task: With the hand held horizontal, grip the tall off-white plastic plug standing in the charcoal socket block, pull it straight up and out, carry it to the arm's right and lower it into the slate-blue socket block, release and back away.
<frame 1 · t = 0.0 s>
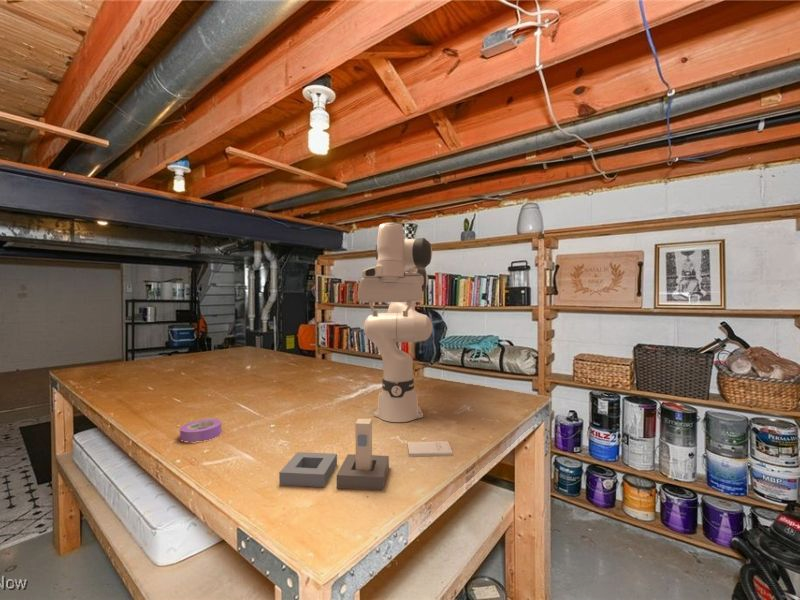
hand: (390, 316, 108), 39 cm above the table, tool pointing down, fingers open, 8 cm apart
masking tape: (201, 437, 114), on the table
socket a: (364, 476, 87), on the table
plug: (363, 449, 87), in the socket a
socket b: (309, 474, 89), on the table
external hard drive: (429, 452, 103), on the table
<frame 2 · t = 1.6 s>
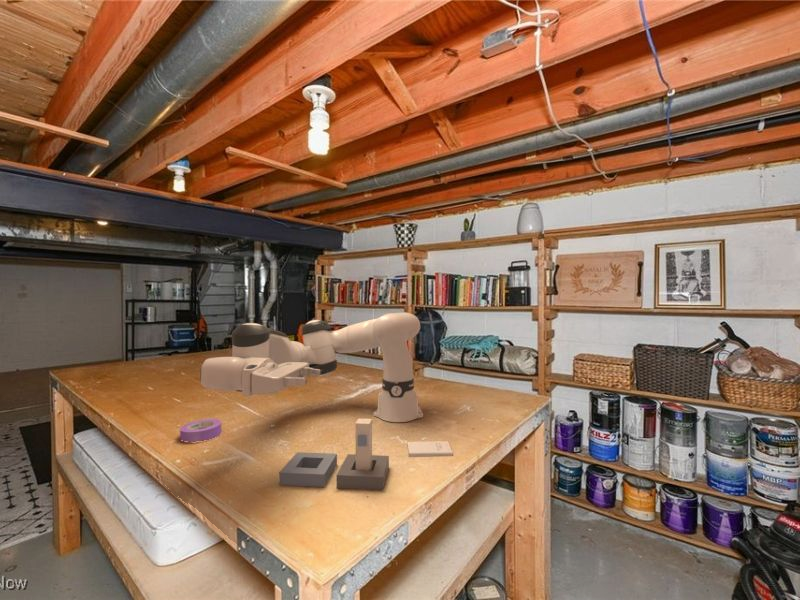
hand: (312, 377, 89), 25 cm above the table, tool horizontal, fingers open, 8 cm apart
nothing on the table moved.
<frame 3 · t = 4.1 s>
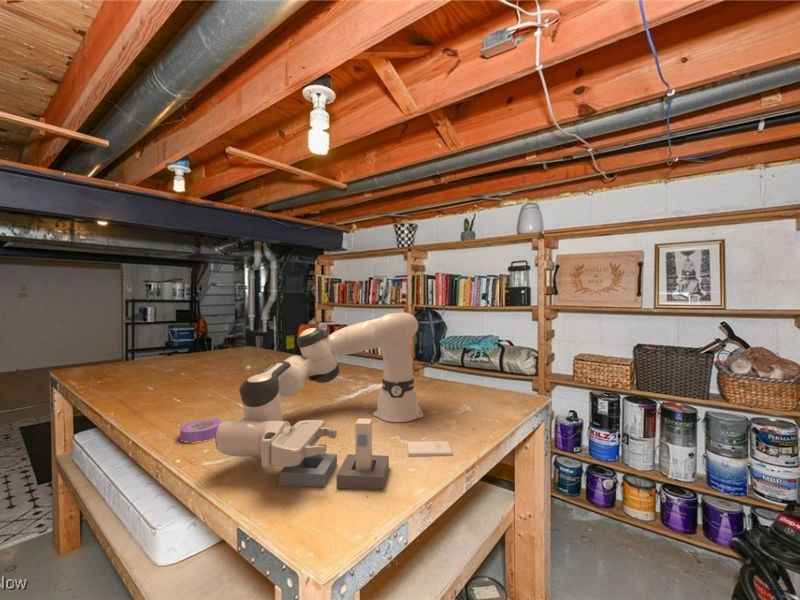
hand: (331, 441, 88), 9 cm above the table, tool horizontal, fingers open, 8 cm apart
nothing on the table moved.
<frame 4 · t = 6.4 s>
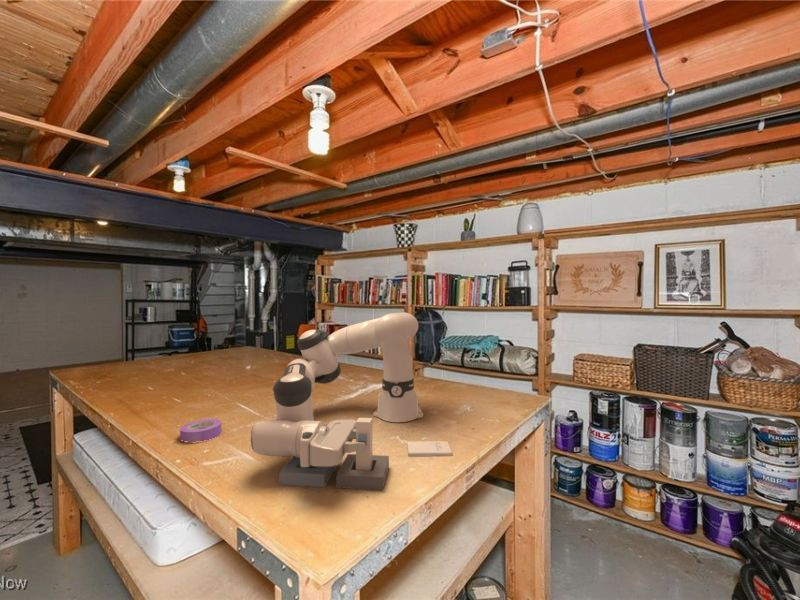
hand: (367, 440, 87), 9 cm above the table, tool horizontal, fingers closed on plug, 4 cm apart
plug: (363, 448, 87), in the socket a, touching gripper
everything else where it was.
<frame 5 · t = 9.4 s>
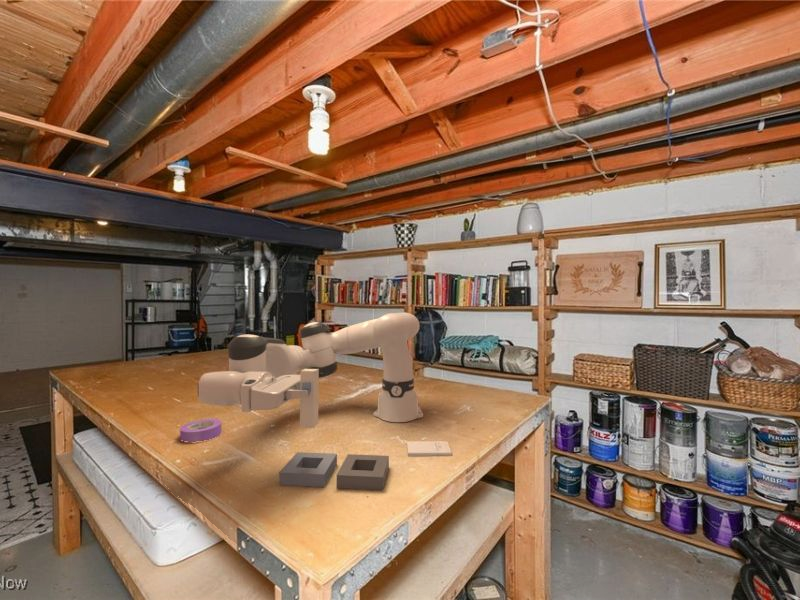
hand: (312, 390, 88), 21 cm above the table, tool horizontal, fingers closed on plug, 4 cm apart
plug: (308, 398, 88), point 19 cm above the table, touching gripper
everything else where it was.
when the fingers open (10 cm above the table, at t = 12.3 s): plug drops 1 cm, resting in socket b.
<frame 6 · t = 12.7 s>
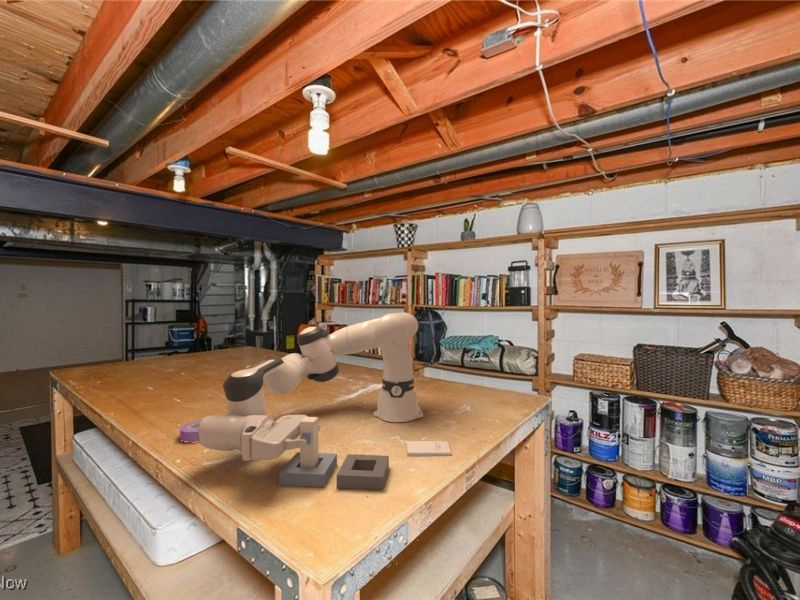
hand: (312, 435, 88), 10 cm above the table, tool horizontal, fingers open, 8 cm apart
plug: (308, 447, 88), in the socket b
everything else where it was.
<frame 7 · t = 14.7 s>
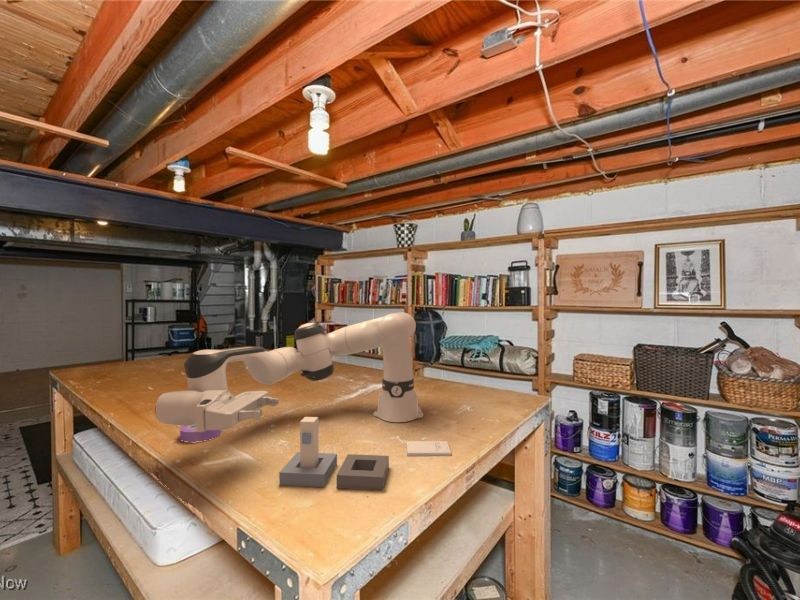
hand: (269, 407, 90), 17 cm above the table, tool horizontal, fingers open, 8 cm apart
nothing on the table moved.
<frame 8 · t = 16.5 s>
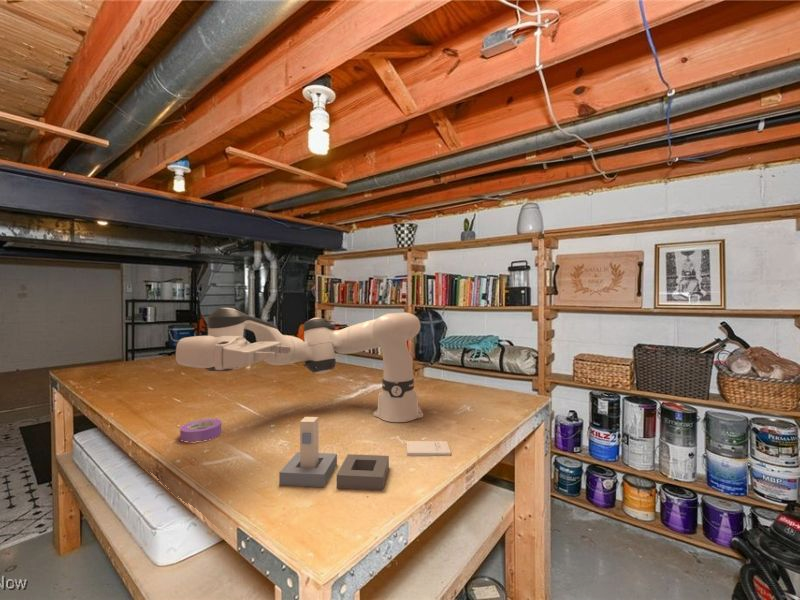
hand: (283, 352, 94), 30 cm above the table, tool horizontal, fingers open, 8 cm apart
nothing on the table moved.
at the end: plug 0.1 cm off-centre on the socket b, point 7.0 cm above the socket b's base; plug tilted 0°; the gripper is holding nothing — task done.
